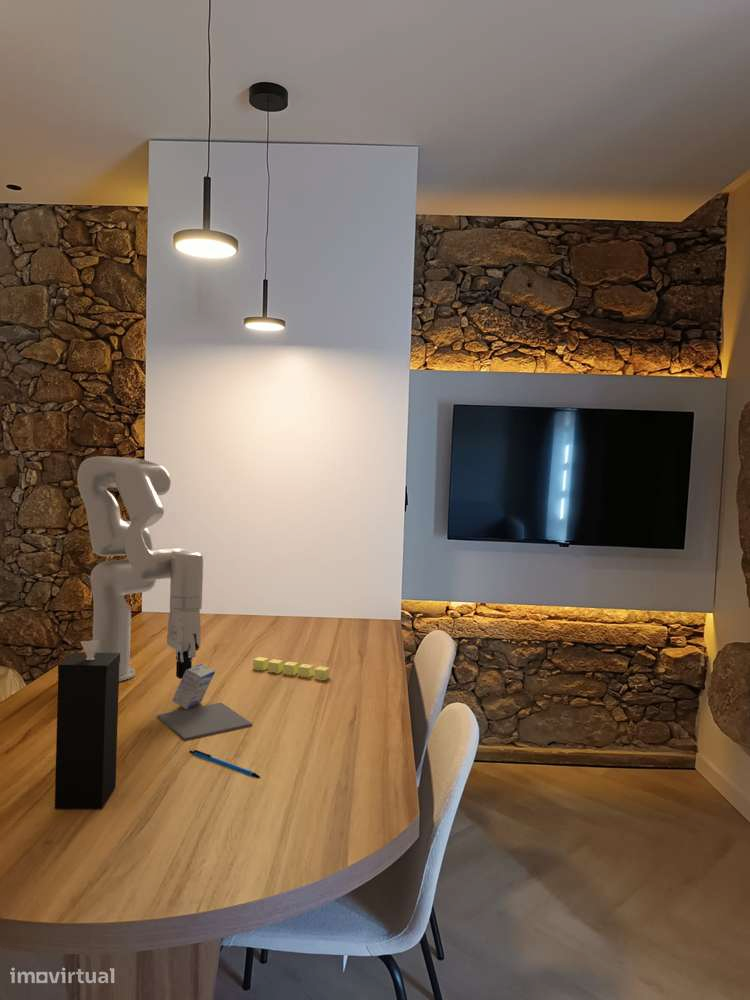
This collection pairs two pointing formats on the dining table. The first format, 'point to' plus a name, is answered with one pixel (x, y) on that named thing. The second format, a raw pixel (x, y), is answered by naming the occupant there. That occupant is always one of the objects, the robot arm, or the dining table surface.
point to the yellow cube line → (291, 668)
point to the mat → (203, 720)
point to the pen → (223, 763)
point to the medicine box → (193, 686)
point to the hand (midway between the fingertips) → (183, 676)
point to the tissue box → (86, 728)
